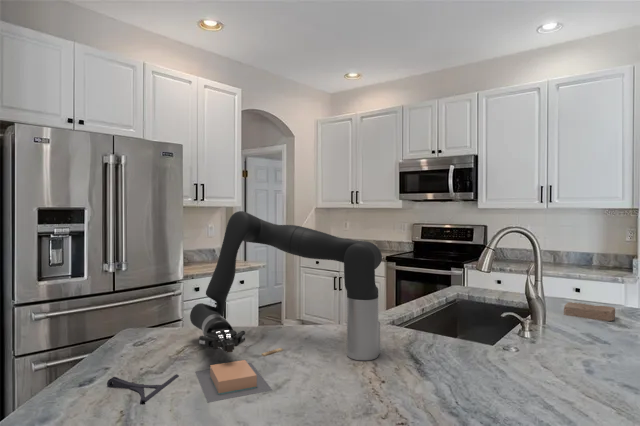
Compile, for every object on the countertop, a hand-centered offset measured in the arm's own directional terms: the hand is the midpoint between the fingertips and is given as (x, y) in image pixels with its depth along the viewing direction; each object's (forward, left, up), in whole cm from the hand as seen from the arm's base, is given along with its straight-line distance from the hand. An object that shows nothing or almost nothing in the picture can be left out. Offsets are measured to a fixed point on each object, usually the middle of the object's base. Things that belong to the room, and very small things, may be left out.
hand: (229, 348), depth 107 cm
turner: (-15, -7, -8) cm, 19 cm away
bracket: (+19, -12, -9) cm, 24 cm away
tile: (-1, -2, -6) cm, 6 cm away
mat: (+1, +2, -8) cm, 8 cm away
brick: (-135, +47, -9) cm, 143 cm away
